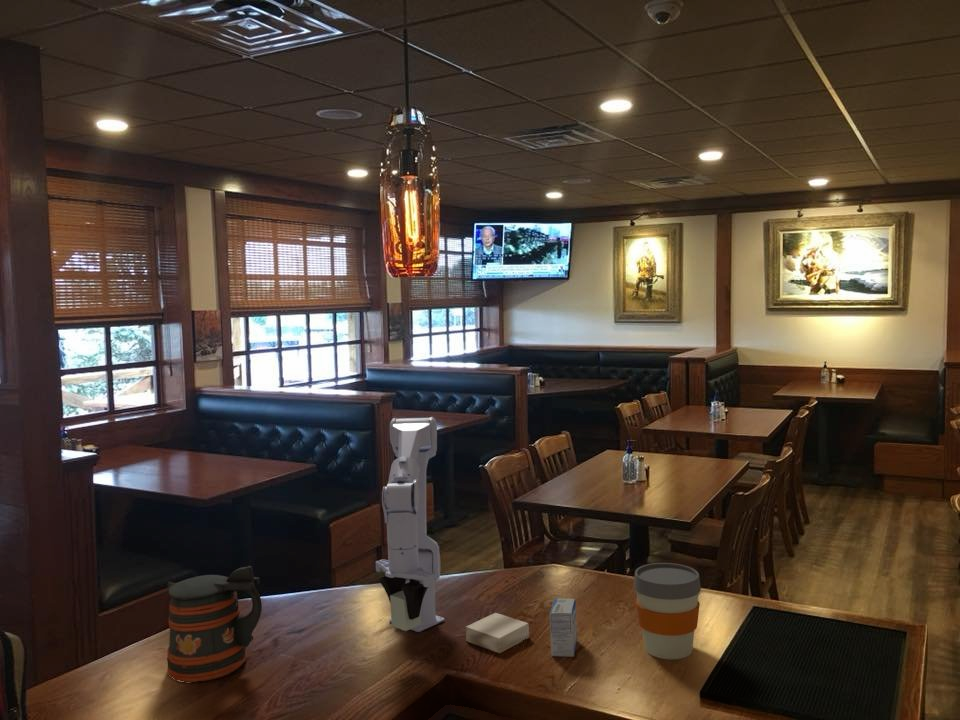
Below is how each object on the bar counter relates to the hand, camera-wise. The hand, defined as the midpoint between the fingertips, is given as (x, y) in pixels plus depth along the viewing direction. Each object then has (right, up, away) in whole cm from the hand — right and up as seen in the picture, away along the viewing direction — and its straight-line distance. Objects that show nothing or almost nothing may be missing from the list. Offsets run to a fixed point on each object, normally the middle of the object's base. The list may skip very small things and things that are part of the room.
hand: (406, 614), depth 152 cm
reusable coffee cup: (+51, -7, +2) cm, 51 cm away
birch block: (+18, -8, +9) cm, 21 cm away
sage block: (0, -2, 0) cm, 2 cm away
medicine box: (+31, -8, +4) cm, 32 cm away
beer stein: (-36, -11, +2) cm, 38 cm away
